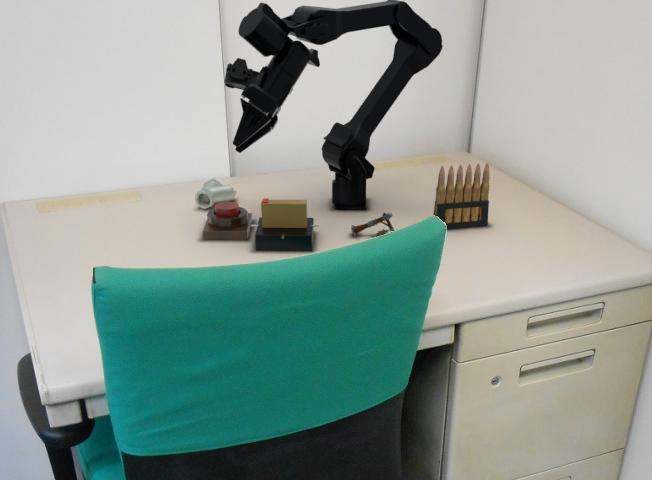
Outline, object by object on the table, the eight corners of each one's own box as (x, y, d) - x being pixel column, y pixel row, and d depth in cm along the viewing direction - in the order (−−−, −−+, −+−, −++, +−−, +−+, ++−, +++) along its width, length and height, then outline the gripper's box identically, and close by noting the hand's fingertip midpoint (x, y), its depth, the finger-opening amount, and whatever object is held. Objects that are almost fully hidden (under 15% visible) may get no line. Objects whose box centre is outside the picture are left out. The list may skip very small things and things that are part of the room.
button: (240, 210, 157) (240, 201, 156) (238, 218, 154) (237, 209, 153) (217, 210, 157) (216, 201, 156) (214, 218, 153) (213, 209, 153)
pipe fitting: (237, 199, 173) (205, 195, 173) (238, 181, 171) (205, 177, 171) (228, 212, 166) (195, 208, 166) (228, 193, 164) (195, 189, 164)
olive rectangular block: (307, 223, 152) (306, 198, 150) (306, 228, 150) (306, 202, 148) (263, 223, 152) (261, 198, 149) (262, 227, 150) (260, 202, 147)
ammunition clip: (484, 222, 163) (490, 161, 156) (487, 226, 161) (493, 164, 155) (432, 226, 160) (435, 164, 154) (435, 230, 159) (439, 167, 152)
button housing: (252, 221, 161) (251, 203, 159) (247, 240, 153) (246, 222, 151) (210, 220, 161) (209, 203, 159) (203, 240, 153) (201, 221, 151)
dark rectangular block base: (319, 230, 158) (319, 213, 156) (318, 254, 148) (317, 237, 146) (255, 229, 158) (254, 213, 156) (248, 254, 147) (247, 237, 146)
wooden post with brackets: (399, 233, 154) (390, 211, 152) (359, 248, 156) (350, 227, 154) (400, 230, 156) (390, 208, 154) (360, 245, 158) (351, 224, 156)
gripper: (245, 57, 156) (201, 129, 158) (241, 32, 138) (192, 114, 140) (296, 92, 158) (252, 163, 160) (298, 72, 140) (249, 152, 142)
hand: (236, 148), depth 150 cm, fingers open, 9 cm apart
